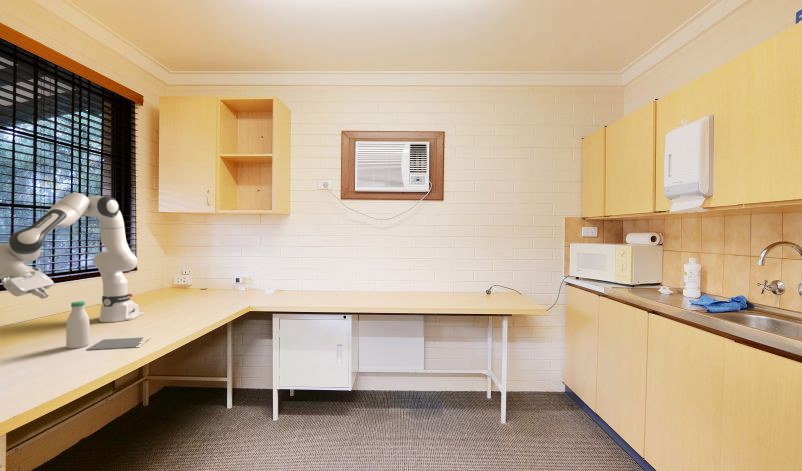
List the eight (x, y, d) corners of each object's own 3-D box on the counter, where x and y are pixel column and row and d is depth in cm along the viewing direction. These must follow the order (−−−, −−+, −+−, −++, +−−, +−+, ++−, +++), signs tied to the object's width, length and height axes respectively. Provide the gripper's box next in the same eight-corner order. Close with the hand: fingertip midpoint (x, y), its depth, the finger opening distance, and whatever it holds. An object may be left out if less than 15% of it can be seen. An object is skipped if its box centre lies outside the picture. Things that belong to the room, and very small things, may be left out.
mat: (86, 350, 155) (86, 349, 155) (103, 340, 169) (103, 339, 169) (139, 347, 161) (139, 346, 160) (151, 337, 174) (151, 337, 174)
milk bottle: (93, 344, 162) (93, 301, 162) (73, 350, 155) (73, 304, 155) (82, 342, 165) (82, 299, 164) (62, 347, 158) (62, 303, 157)
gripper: (5, 273, 144) (35, 296, 147) (41, 267, 164) (66, 288, 167) (-9, 284, 143) (21, 307, 146) (29, 277, 163) (55, 297, 166)
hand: (46, 297), depth 156 cm, fingers closed
